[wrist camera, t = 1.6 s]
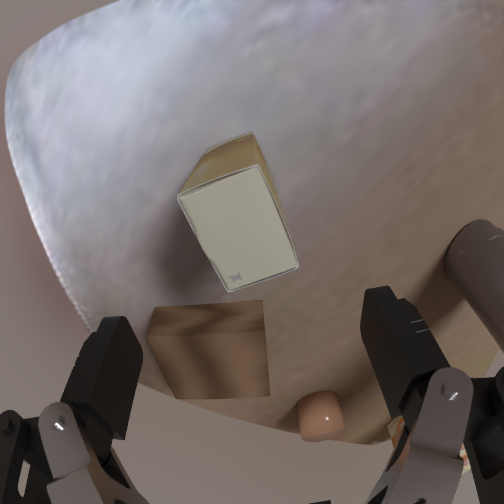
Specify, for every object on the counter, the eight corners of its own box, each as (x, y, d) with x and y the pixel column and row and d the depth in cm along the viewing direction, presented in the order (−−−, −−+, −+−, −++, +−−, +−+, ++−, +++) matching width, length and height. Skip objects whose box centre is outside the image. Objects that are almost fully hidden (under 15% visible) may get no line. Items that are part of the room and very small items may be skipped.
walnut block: (262, 298, 33) (264, 330, 29) (267, 365, 39) (270, 395, 35) (155, 305, 33) (146, 336, 29) (180, 369, 39) (176, 399, 35)
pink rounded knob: (340, 387, 43) (348, 419, 38) (336, 408, 46) (342, 437, 41) (296, 394, 43) (301, 427, 38) (296, 414, 46) (300, 444, 41)
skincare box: (279, 193, 27) (304, 273, 16) (233, 210, 27) (229, 299, 17) (251, 126, 23) (260, 161, 13) (203, 146, 24) (172, 197, 14)
